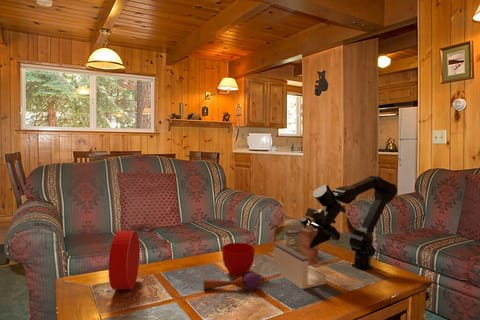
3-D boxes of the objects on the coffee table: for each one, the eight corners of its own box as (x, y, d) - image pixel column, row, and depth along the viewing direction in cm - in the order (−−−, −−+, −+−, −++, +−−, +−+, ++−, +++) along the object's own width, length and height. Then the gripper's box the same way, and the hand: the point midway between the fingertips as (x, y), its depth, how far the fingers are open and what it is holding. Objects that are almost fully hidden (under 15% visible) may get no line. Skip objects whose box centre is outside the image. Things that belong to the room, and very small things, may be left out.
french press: (281, 247, 168) (282, 197, 167) (305, 248, 167) (306, 198, 165) (282, 253, 158) (283, 201, 157) (307, 255, 157) (308, 201, 156)
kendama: (204, 274, 124) (258, 270, 124) (205, 291, 123) (259, 287, 124) (202, 278, 118) (259, 274, 118) (203, 296, 117) (261, 291, 118)
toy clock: (124, 275, 131) (123, 224, 130) (139, 275, 132) (139, 224, 130) (108, 300, 111) (108, 240, 110) (127, 299, 112) (126, 240, 110)
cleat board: (296, 266, 143) (297, 240, 143) (325, 283, 126) (326, 254, 126) (274, 270, 139) (274, 243, 138) (301, 289, 122) (302, 259, 121)
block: (309, 259, 133) (310, 223, 132) (317, 263, 129) (319, 226, 128) (299, 261, 131) (300, 224, 130) (307, 266, 127) (308, 227, 126)
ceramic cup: (252, 262, 147) (252, 240, 146) (255, 279, 130) (255, 253, 129) (222, 262, 146) (222, 239, 146) (221, 278, 129) (221, 253, 129)
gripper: (303, 196, 139) (280, 226, 134) (335, 205, 122) (310, 239, 118) (317, 213, 143) (296, 243, 138) (350, 224, 126) (327, 257, 122)
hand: (306, 245), depth 129 cm, fingers closed on block, 5 cm apart
